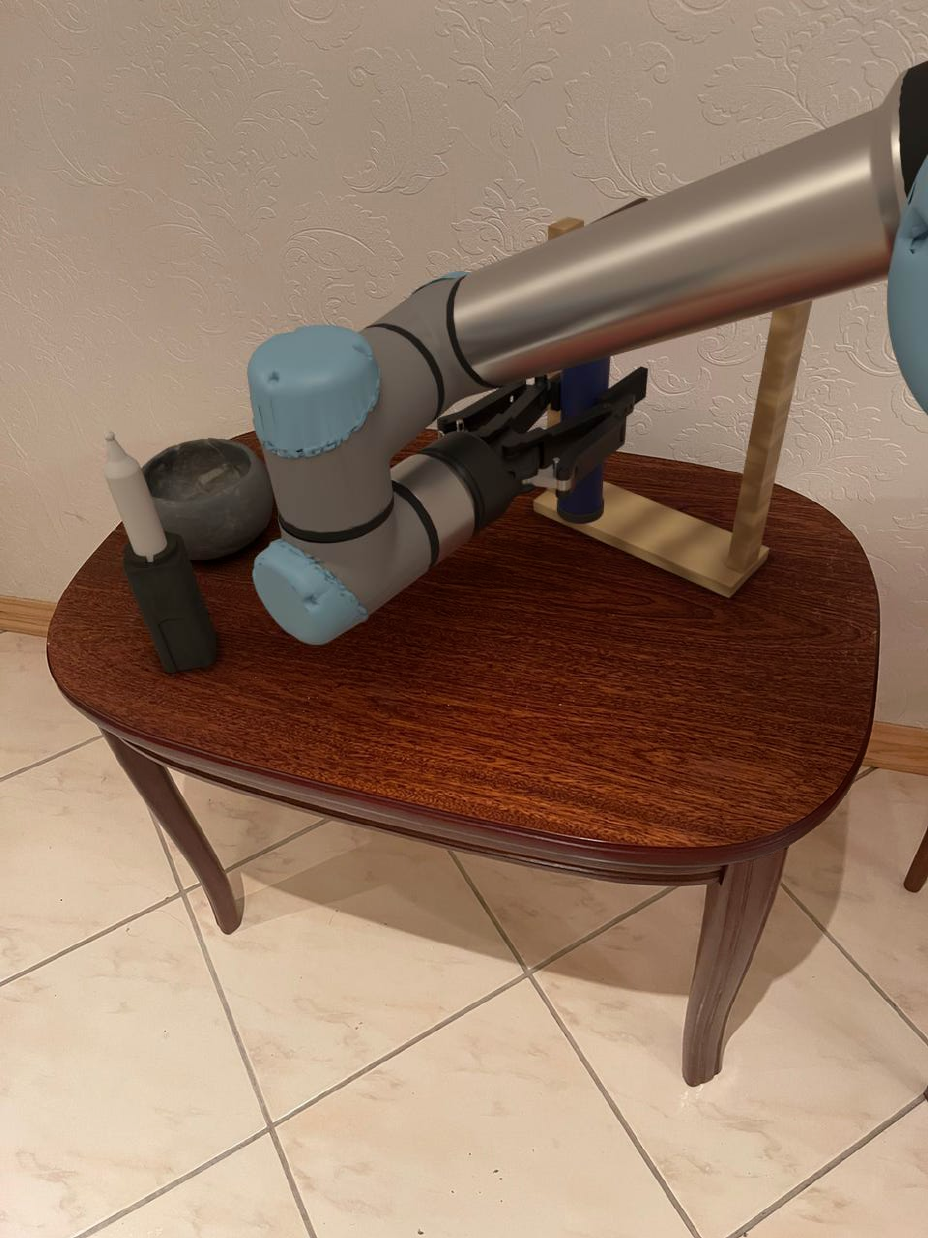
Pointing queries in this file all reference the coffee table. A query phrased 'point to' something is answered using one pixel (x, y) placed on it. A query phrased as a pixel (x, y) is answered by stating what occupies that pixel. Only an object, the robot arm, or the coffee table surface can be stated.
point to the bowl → (210, 495)
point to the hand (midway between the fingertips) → (619, 374)
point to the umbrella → (575, 398)
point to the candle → (159, 570)
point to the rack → (739, 554)
